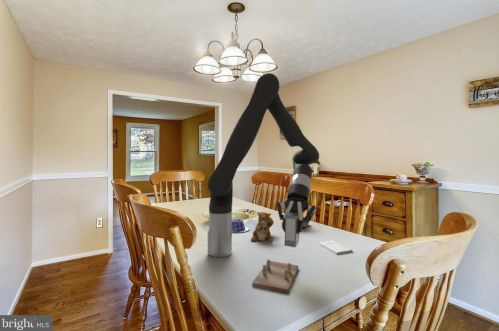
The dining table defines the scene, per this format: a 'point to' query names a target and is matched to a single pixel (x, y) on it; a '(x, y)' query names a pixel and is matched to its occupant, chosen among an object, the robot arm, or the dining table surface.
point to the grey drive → (291, 229)
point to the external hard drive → (335, 247)
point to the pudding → (238, 226)
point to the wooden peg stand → (276, 276)
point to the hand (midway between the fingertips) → (291, 231)
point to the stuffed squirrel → (263, 228)
